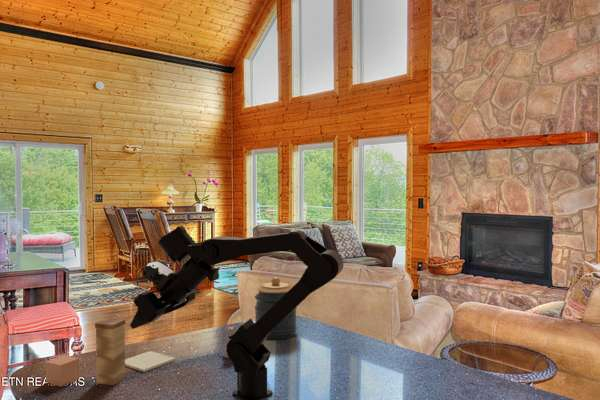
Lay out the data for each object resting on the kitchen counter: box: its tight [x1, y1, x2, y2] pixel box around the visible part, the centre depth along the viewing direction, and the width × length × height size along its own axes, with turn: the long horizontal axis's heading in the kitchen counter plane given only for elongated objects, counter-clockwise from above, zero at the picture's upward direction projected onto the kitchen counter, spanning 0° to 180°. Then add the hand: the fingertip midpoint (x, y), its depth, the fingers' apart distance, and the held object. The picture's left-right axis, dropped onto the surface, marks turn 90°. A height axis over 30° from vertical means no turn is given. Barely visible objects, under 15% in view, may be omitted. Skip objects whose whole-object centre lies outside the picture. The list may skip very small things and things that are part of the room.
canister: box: [254, 276, 298, 341], centre depth 152 cm, size 13×13×18 cm
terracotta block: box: [45, 354, 80, 387], centre depth 116 cm, size 5×5×5 cm
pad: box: [125, 350, 176, 373], centre depth 128 cm, size 10×10×1 cm
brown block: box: [94, 317, 126, 386], centre depth 116 cm, size 5×5×14 cm
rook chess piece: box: [222, 324, 238, 360], centre depth 133 cm, size 4×4×8 cm
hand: (143, 321), depth 114 cm, fingers open, 9 cm apart
